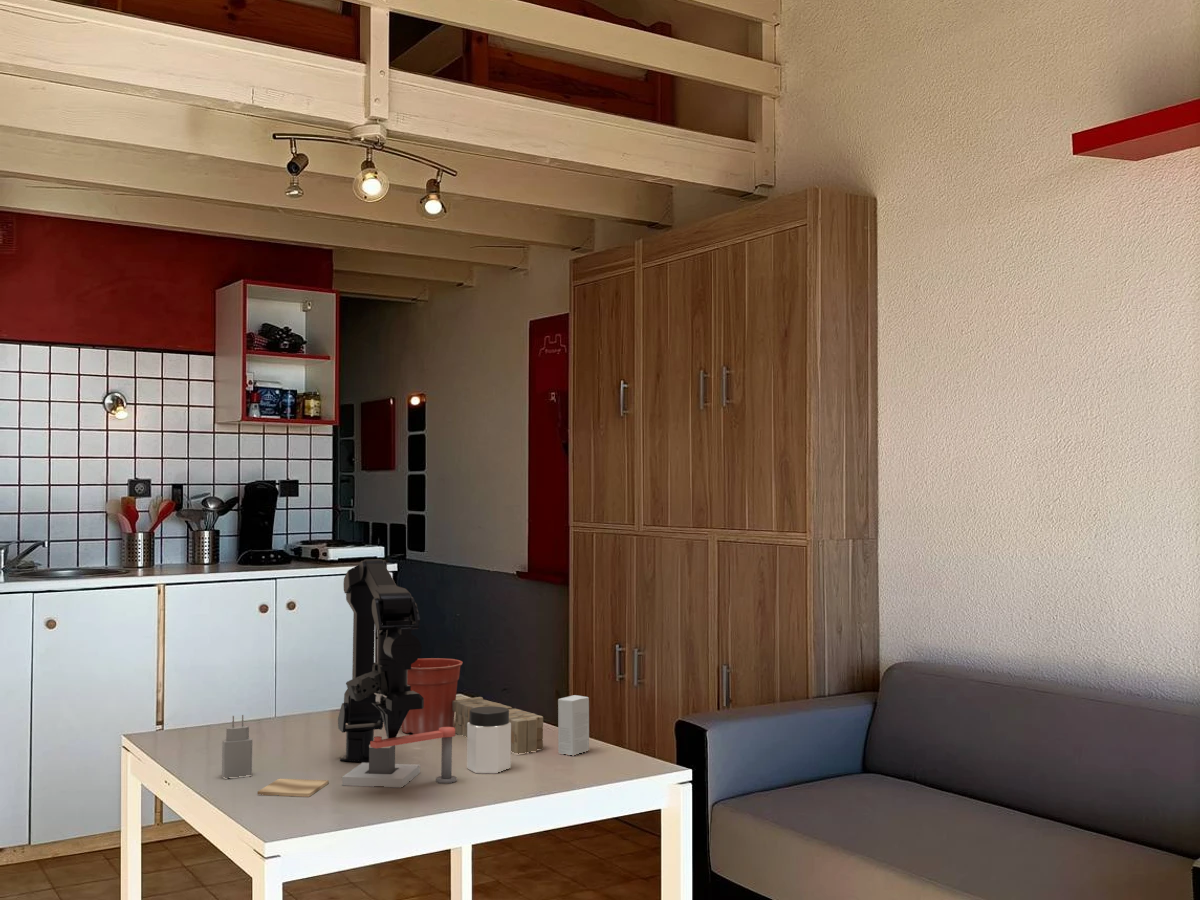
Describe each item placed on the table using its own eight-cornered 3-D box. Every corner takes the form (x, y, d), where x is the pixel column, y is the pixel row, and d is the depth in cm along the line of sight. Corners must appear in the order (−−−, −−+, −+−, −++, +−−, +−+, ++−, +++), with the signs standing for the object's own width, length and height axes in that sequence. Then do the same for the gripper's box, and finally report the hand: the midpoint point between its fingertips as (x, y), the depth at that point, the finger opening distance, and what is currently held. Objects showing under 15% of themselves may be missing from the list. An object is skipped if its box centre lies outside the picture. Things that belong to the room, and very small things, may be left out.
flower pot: (377, 732, 268) (378, 663, 268) (425, 721, 281) (426, 656, 282) (428, 740, 258) (429, 669, 259) (476, 729, 272) (476, 661, 272)
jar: (512, 764, 235) (512, 706, 236) (508, 774, 227) (509, 713, 228) (469, 764, 235) (469, 706, 236) (464, 773, 227) (464, 713, 228)
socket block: (362, 770, 229) (363, 727, 230) (463, 774, 227) (464, 730, 227) (341, 785, 217) (342, 740, 218) (448, 789, 215) (449, 743, 215)
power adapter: (220, 776, 224) (222, 715, 224) (248, 773, 227) (249, 712, 227) (224, 779, 221) (225, 717, 222) (252, 776, 224) (253, 715, 225)
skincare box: (574, 749, 250) (574, 694, 250) (589, 752, 247) (589, 696, 248) (557, 754, 245) (557, 698, 246) (572, 757, 242) (573, 700, 243)
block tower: (546, 756, 248) (480, 729, 272) (547, 717, 248) (481, 694, 272) (515, 760, 244) (451, 733, 267) (516, 721, 244) (452, 697, 268)
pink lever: (449, 733, 224) (449, 724, 224) (458, 735, 221) (458, 726, 221) (368, 746, 211) (368, 736, 212) (377, 749, 209) (377, 739, 209)
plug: (375, 776, 225) (375, 740, 225) (394, 777, 224) (395, 741, 225) (368, 781, 221) (369, 744, 221) (388, 781, 220) (389, 745, 221)
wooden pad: (279, 781, 220) (279, 778, 220) (328, 783, 219) (328, 780, 219) (257, 794, 210) (257, 791, 210) (309, 796, 209) (309, 793, 209)
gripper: (336, 654, 220) (335, 735, 219) (366, 667, 203) (365, 755, 203) (391, 651, 225) (390, 730, 225) (425, 663, 209) (423, 748, 208)
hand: (391, 740), depth 215 cm, fingers closed
